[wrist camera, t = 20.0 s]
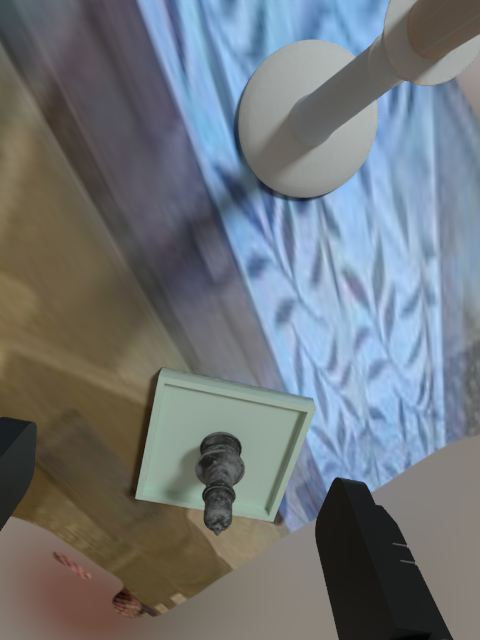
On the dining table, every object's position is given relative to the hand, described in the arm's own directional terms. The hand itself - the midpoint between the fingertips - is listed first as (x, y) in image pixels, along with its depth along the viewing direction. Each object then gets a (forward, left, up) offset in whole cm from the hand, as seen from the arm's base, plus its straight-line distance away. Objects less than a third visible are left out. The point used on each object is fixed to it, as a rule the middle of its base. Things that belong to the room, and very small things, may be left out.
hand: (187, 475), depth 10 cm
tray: (+5, -23, -30) cm, 39 cm away
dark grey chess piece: (+5, -23, -30) cm, 38 cm away
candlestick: (+5, +14, -30) cm, 34 cm away
